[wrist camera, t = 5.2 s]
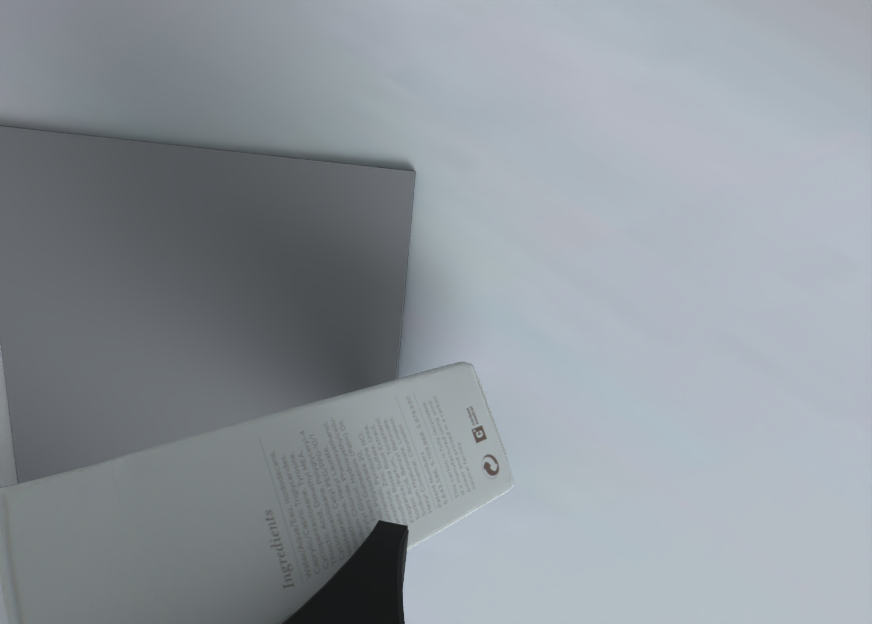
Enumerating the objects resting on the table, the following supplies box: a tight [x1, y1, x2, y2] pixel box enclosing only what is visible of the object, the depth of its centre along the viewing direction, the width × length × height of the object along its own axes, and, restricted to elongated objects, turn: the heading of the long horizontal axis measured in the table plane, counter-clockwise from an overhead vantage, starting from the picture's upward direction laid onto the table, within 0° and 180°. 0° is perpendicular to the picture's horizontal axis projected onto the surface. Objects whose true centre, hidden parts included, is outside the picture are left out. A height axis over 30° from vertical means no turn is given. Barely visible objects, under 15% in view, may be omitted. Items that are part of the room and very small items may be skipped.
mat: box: [0, 126, 416, 484], centre depth 22 cm, size 16×16×1 cm
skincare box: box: [0, 362, 514, 624], centre depth 15 cm, size 6×4×12 cm
